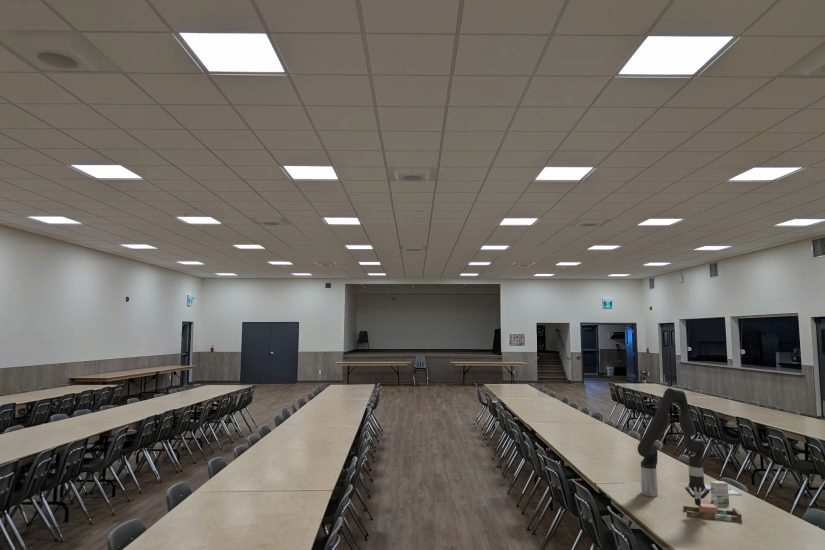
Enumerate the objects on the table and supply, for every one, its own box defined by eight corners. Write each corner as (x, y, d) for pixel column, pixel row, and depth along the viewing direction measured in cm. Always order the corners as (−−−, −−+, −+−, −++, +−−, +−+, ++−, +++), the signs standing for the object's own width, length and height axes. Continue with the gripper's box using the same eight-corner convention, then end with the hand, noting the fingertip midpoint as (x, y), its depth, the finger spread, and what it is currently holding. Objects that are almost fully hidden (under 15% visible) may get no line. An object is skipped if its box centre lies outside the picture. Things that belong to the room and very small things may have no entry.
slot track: (687, 516, 283) (686, 508, 283) (683, 509, 293) (683, 502, 294) (741, 522, 274) (741, 514, 275) (735, 515, 285) (735, 508, 285)
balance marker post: (714, 511, 291) (713, 498, 292) (713, 510, 293) (712, 497, 294) (718, 511, 290) (717, 499, 291) (717, 510, 292) (716, 498, 293)
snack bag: (722, 486, 341) (722, 483, 341) (742, 496, 321) (742, 492, 321) (695, 486, 340) (695, 483, 340) (714, 496, 320) (713, 492, 320)
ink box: (724, 500, 311) (722, 480, 312) (729, 502, 306) (728, 483, 308) (711, 500, 311) (709, 480, 312) (716, 503, 306) (715, 483, 307)
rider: (702, 516, 282) (701, 506, 283) (698, 512, 288) (698, 503, 289) (717, 517, 280) (717, 507, 281) (714, 514, 286) (713, 504, 287)
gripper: (684, 474, 287) (686, 506, 285) (710, 477, 283) (712, 508, 281) (682, 471, 294) (683, 501, 292) (707, 473, 290) (709, 504, 288)
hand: (697, 505), depth 286 cm, fingers closed
